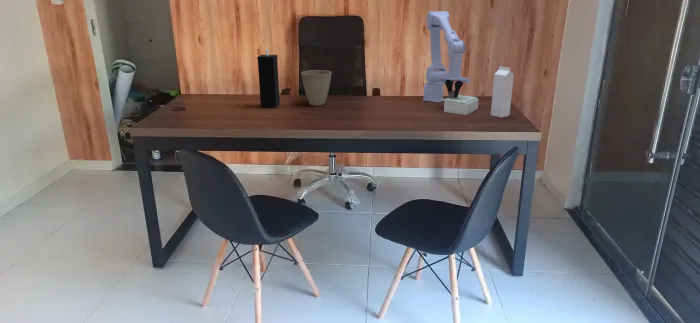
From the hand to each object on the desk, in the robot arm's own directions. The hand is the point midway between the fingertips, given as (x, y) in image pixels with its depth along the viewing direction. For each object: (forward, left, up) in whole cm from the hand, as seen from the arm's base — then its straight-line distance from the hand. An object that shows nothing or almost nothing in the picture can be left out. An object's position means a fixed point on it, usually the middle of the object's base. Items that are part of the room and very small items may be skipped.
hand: (453, 96), depth 234 cm
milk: (+23, +1, -6) cm, 24 cm away
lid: (+3, 0, -1) cm, 4 cm away
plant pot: (-61, -27, -6) cm, 67 cm away
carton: (+4, 0, -6) cm, 8 cm away
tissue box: (-77, -44, -6) cm, 89 cm away
